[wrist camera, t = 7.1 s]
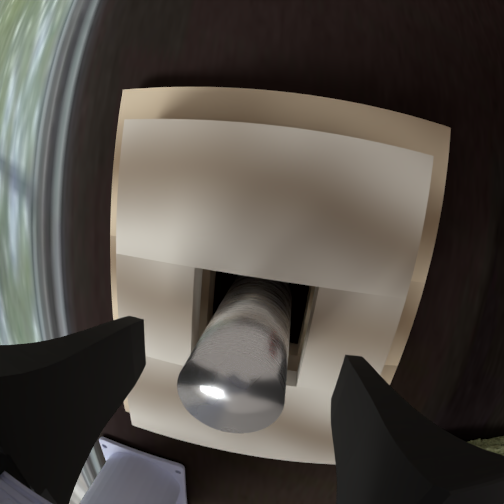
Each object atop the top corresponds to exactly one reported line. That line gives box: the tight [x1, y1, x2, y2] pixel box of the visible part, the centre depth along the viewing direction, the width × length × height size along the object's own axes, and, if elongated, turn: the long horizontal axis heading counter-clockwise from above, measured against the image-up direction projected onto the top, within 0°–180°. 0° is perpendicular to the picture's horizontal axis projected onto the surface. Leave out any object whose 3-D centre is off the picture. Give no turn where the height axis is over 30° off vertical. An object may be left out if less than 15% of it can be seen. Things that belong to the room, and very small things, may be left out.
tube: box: [177, 275, 292, 433], centre depth 12 cm, size 3×3×8 cm
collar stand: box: [110, 87, 451, 464], centre depth 14 cm, size 20×16×4 cm
